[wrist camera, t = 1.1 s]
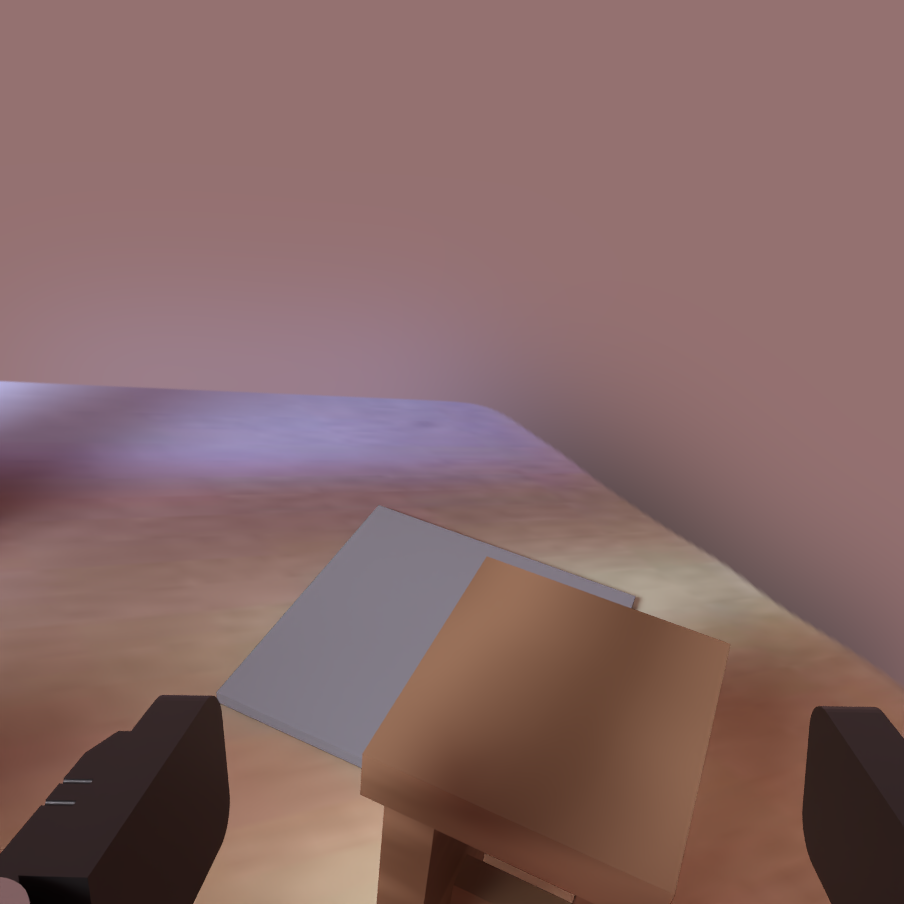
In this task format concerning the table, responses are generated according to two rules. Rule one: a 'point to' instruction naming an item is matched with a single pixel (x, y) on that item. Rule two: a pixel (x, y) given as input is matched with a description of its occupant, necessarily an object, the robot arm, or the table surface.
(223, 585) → the table surface
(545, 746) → the stool
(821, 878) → the robot arm
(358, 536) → the mat
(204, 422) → the table surface
